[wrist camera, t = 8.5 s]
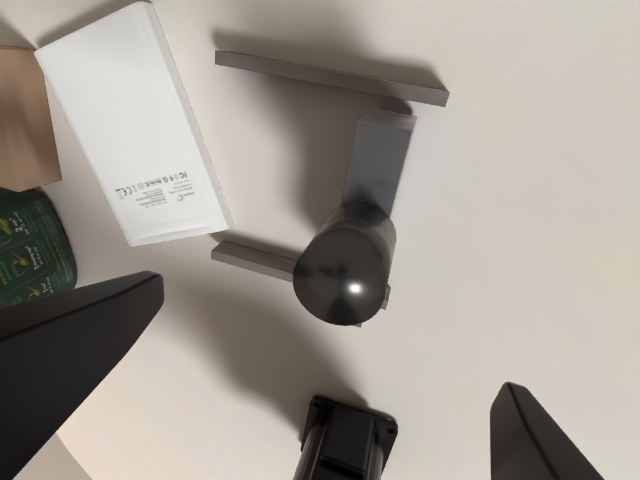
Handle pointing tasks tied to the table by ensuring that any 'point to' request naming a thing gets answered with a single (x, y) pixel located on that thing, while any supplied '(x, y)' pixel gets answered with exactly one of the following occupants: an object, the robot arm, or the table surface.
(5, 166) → the base
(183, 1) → the table surface
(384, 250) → the clamp jaw
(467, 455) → the table surface
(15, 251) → the coffee jar
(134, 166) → the external hard drive
